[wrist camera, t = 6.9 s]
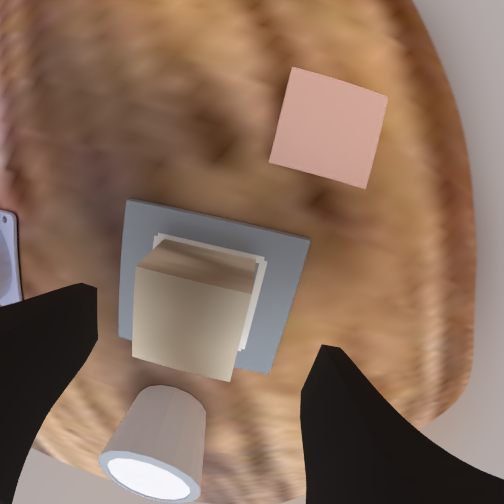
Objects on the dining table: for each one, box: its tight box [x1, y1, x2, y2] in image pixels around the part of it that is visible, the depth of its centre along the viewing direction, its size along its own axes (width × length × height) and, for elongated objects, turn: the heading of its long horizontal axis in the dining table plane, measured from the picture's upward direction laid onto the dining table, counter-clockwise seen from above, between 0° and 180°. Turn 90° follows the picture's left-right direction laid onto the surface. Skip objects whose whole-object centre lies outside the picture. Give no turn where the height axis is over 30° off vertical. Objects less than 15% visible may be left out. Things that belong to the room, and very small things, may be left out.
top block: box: [269, 67, 388, 189], centre depth 13 cm, size 4×4×4 cm
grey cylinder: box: [98, 385, 206, 503], centre depth 18 cm, size 7×7×7 cm
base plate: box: [119, 198, 311, 374], centre depth 18 cm, size 10×9×1 cm
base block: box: [132, 239, 256, 382], centre depth 16 cm, size 5×5×4 cm
